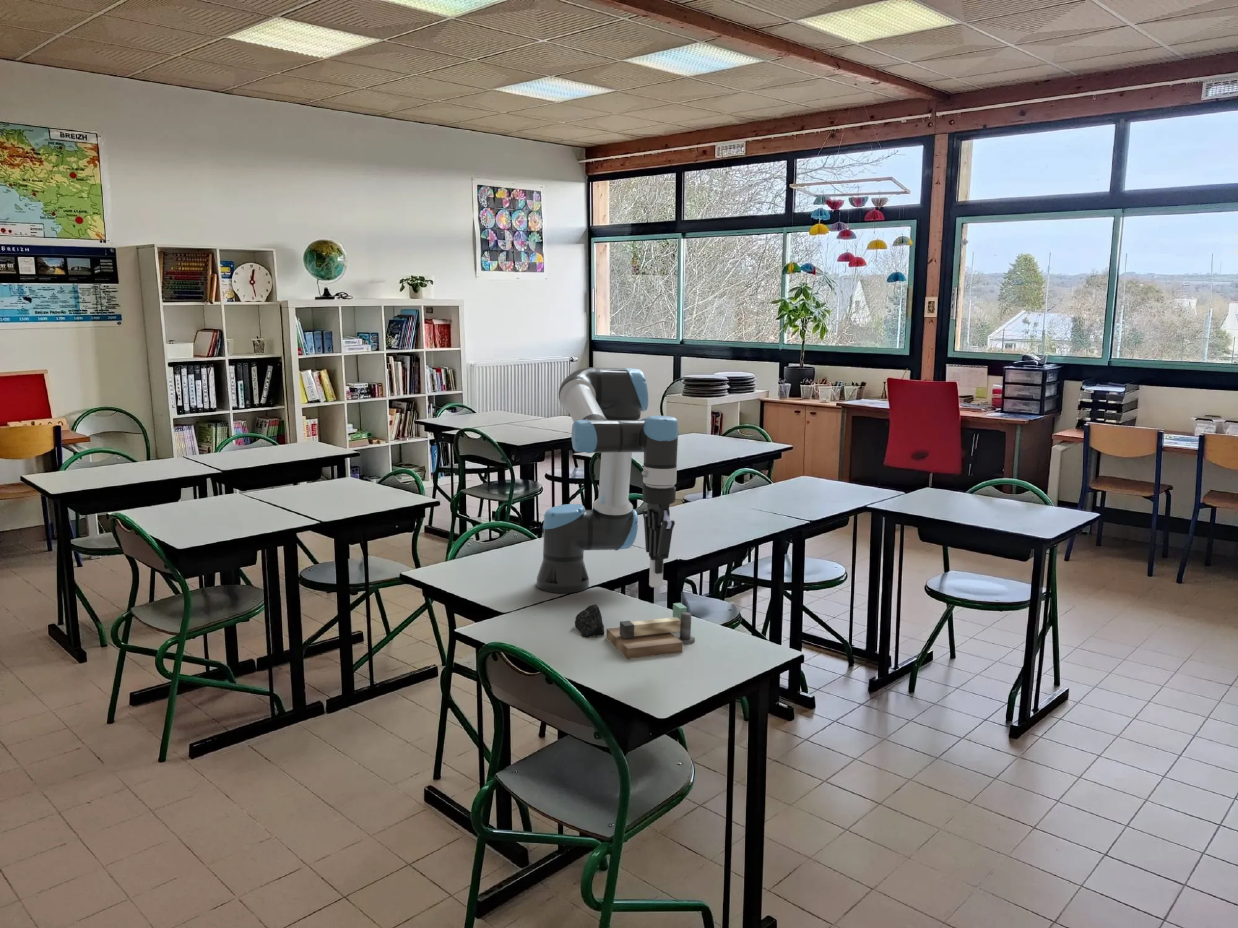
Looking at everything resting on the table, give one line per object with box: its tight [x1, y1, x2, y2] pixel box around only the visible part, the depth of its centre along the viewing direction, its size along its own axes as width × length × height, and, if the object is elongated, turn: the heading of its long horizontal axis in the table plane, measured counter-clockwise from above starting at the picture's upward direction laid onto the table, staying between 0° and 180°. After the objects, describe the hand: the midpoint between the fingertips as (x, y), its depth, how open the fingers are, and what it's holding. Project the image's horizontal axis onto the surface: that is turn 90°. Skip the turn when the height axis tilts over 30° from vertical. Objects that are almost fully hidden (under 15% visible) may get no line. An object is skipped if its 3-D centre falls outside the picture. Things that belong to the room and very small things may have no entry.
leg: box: [619, 616, 681, 639], centre depth 225 cm, size 15×3×3 cm, turn 111°
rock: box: [574, 603, 605, 639], centre depth 234 cm, size 7×10×6 cm
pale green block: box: [672, 602, 688, 620], centre depth 238 cm, size 4×2×6 cm, turn 21°
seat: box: [605, 611, 696, 660], centre depth 226 cm, size 14×20×7 cm
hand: (655, 585), depth 215 cm, fingers closed
